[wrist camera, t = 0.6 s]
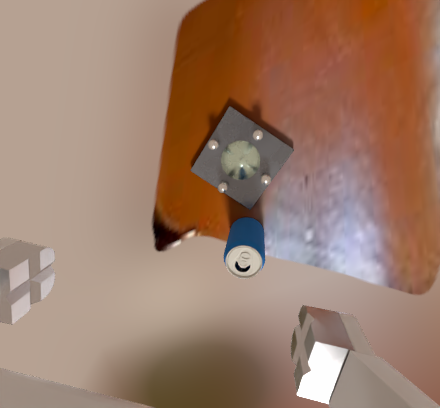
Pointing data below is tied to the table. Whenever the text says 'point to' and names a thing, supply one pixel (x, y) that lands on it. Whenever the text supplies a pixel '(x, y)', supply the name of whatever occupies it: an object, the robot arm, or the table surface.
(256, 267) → the beverage can
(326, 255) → the table surface
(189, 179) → the table surface
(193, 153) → the table surface
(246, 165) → the plate
